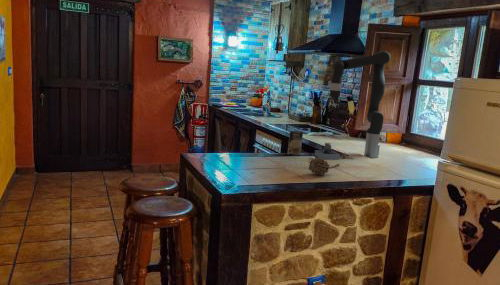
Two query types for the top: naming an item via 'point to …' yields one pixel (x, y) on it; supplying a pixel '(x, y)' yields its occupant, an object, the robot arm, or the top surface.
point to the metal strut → (327, 148)
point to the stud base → (345, 156)
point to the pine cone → (320, 166)
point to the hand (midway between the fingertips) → (332, 112)
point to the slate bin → (326, 155)
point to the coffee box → (295, 142)
